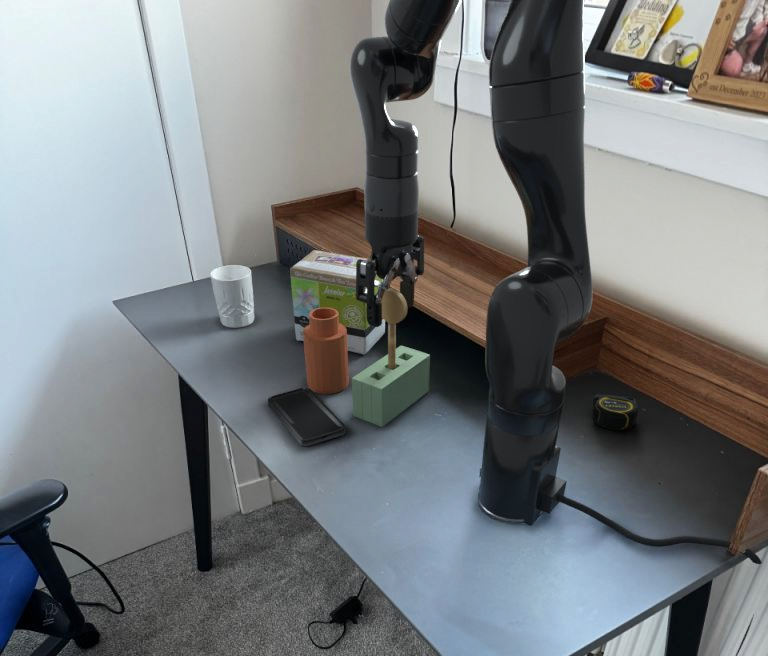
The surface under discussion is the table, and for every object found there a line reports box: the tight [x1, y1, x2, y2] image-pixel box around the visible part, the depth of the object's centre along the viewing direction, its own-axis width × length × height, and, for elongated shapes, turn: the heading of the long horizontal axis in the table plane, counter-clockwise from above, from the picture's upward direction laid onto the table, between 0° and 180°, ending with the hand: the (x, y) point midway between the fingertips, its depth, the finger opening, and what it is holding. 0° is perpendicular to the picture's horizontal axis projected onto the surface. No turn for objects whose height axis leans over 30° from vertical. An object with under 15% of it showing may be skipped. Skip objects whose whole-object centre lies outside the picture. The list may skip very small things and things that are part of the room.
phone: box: [267, 386, 346, 447], centre depth 117 cm, size 8×1×15 cm
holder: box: [351, 345, 431, 428], centre depth 119 cm, size 6×14×7 cm, turn 144°
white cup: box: [209, 264, 255, 329], centre depth 143 cm, size 8×8×10 cm
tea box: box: [289, 249, 386, 356], centre depth 135 cm, size 15×10×15 cm
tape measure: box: [592, 393, 639, 431], centre depth 115 cm, size 7×7×4 cm
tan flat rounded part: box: [381, 287, 409, 370], centre depth 115 cm, size 5×1×20 cm, turn 54°
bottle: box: [303, 307, 350, 395], centre depth 122 cm, size 7×7×13 cm
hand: (391, 315), depth 111 cm, fingers open, 8 cm apart
